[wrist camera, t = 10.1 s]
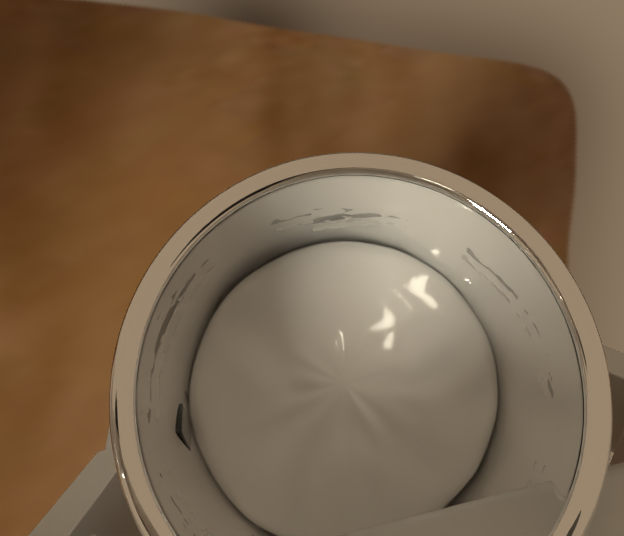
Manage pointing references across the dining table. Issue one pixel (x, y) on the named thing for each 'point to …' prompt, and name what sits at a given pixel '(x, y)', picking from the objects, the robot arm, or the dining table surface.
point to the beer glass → (355, 358)
